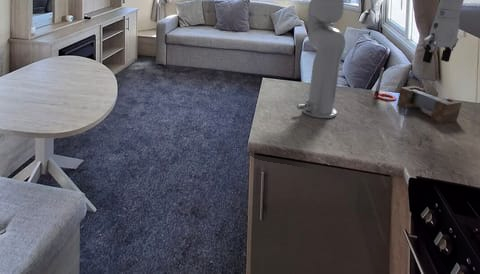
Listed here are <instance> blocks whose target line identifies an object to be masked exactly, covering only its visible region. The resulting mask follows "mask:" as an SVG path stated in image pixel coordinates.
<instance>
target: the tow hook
mask: <svg viewBox="0 0 480 274" xmlns="http://www.w3.org/2000/svg"><path fill="white" fill-rule="evenodd" d="M384 70H385V68H384V67H382V68H381V70H380V73H379V76H378V81H377V85H376V88H375V91H374V94H373V99H379V100H382V101H385V102H395V101H397V97H396V96H395V95H393V94H390V93H387V92H380V89H381V83H382V79H383V75H384ZM387 97H388V98H387Z"/></svg>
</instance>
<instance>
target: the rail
mask: <svg viewBox="0 0 480 274" xmlns="http://www.w3.org/2000/svg"><path fill="white" fill-rule="evenodd" d="M436 100H440V101H443V102H449V101H447V99H443V98H440V97H437V96H435V95H431V94H429V93H426V92H425V91H424V92H421V91H418V90H416V89H415V90H413V95H412V99H411V103H412V104H414V105H417V106H419V107H418V108H422V109H424V110H426V111H430V112H433V109H434V105H435V101H436Z"/></svg>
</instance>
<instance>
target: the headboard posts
mask: <svg viewBox="0 0 480 274" xmlns="http://www.w3.org/2000/svg"><path fill="white" fill-rule="evenodd" d="M415 89H416V90H418V91H421V92H424V93H425V90H426V89H424V88H422V87H419V86H417V85H410V86H402V87H400V91H399V94H398V98H397V99H398V100H397V106H399V107H401V108H404V109H406V110H407V109H413V108H414V107H415V108H420V107H419V106H417V105H414V104H412V103H411V99H412V95H413V90H415ZM446 101H449V102H443V101H440V100H436V101H435V105H434V109H433V112H432V111H431V112H432V113H431V117H430V120H432V121H434V122H437V123H439V124H448V123H454V122H457V121H458V116H459V115H460V110H461V106H462V104H463V102H461V101H459V100H456V99H453V98H451V97H450V98H446Z"/></svg>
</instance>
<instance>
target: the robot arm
mask: <svg viewBox="0 0 480 274" xmlns="http://www.w3.org/2000/svg"><path fill="white" fill-rule="evenodd" d="M464 1H465V0H439V3H438V7H437V10H436V15H435V17H434V20H433V22H432V25H431V27H430V31H429V34H428V36H426V37H425V38H423V50H424V54H423V57H422V62H424V63H428V64H431V63H432V59H433V56H434V52H433V51H434V50H435V48H443V50H442V54H441V58H440V61H442V62H445V63H446V62H447V63H448V62H450V59H451V55H452V52H453V51H454V48H455V47H456V46H457V44H458V42H459V40H460V39H459V38H458V35H459V29H460V16H461V13H462V7H463V4H464ZM344 8H345V7H344V0H310V2H309V5H308V9H307V10H308V11H307V38H308V42H309V45H310V46H311V47H312V49H315V51H316V52H315V56H314V59H313V63H312V67H311V68H312V69H311V78H310V84H309V85H310V87H309V92H308V93H309V94H308V99H306V100H305V102H304V103H300V104H297V105H296V109H297V110H302V112H303V113H304V114H305V115H307V116H309V117H313V118H316V119H331V118H334V117H337V110H336V109H335V108H334V105H335V100H336V99H335V98H336V92H337V87H338V86H337V85H338V80H339V79H338V78H339V73H340V67H341V66H340V65H341V61H342V59H343V55H344V51H345V48H346V39H345V38H346V37H345V35H344V34H343V32H342V31H341V30H339V29H337V28H336V27H334V24H337V23H338V22H340V20H342V18H343V14H344V10H345V9H344Z"/></svg>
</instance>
